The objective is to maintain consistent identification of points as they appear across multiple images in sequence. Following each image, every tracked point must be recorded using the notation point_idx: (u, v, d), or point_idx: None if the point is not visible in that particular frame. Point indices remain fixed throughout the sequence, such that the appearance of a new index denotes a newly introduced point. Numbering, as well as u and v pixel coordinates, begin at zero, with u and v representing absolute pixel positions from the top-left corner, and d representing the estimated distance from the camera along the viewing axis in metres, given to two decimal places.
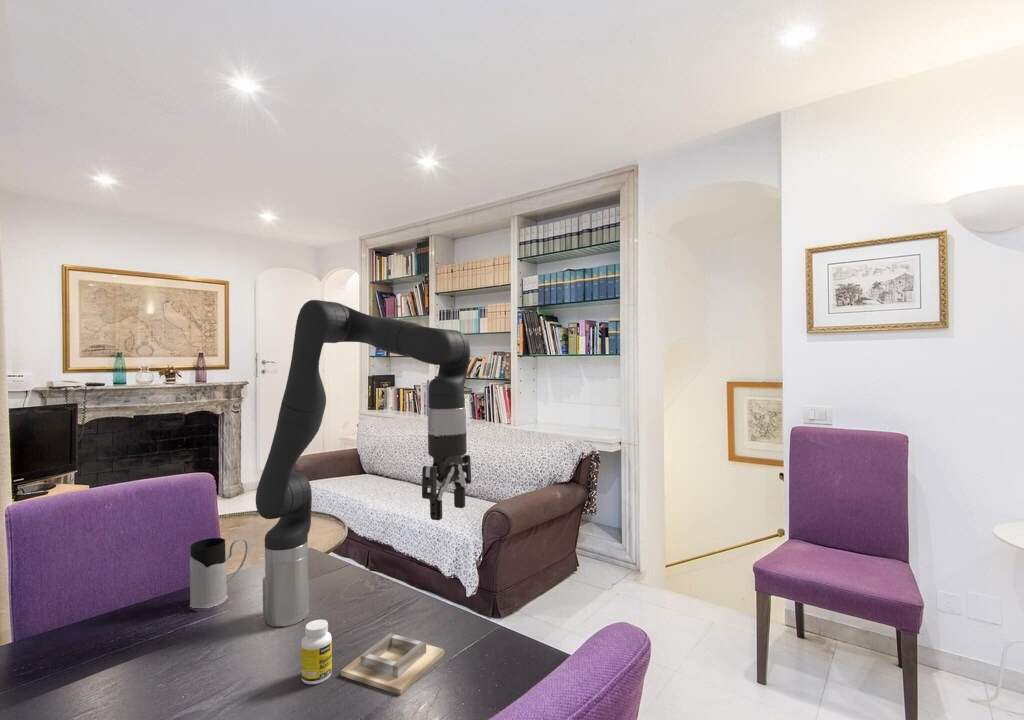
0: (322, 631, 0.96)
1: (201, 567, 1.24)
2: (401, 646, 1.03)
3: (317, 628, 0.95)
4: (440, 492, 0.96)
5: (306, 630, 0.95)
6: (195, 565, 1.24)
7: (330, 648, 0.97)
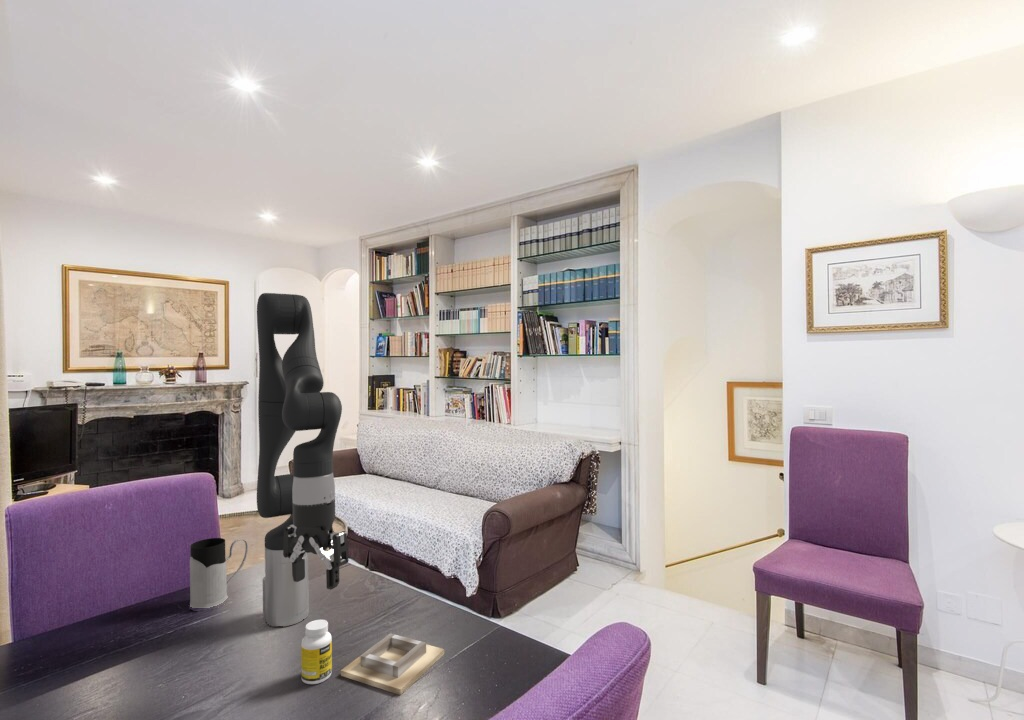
0: (322, 631, 0.96)
1: (201, 567, 1.24)
2: (401, 646, 1.03)
3: (317, 628, 0.95)
4: None
5: (306, 630, 0.95)
6: (195, 565, 1.24)
7: (330, 648, 0.97)
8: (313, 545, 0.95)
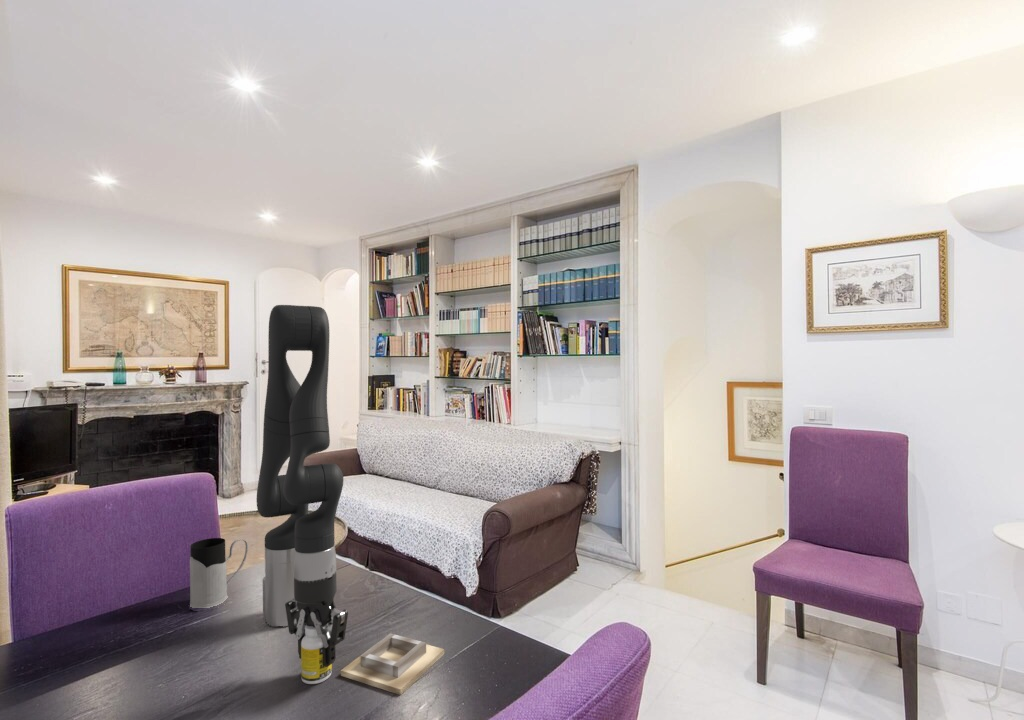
0: None
1: (201, 567, 1.24)
2: (401, 646, 1.03)
3: None
4: None
5: (306, 630, 0.95)
6: (195, 565, 1.24)
7: None
8: (313, 620, 0.95)
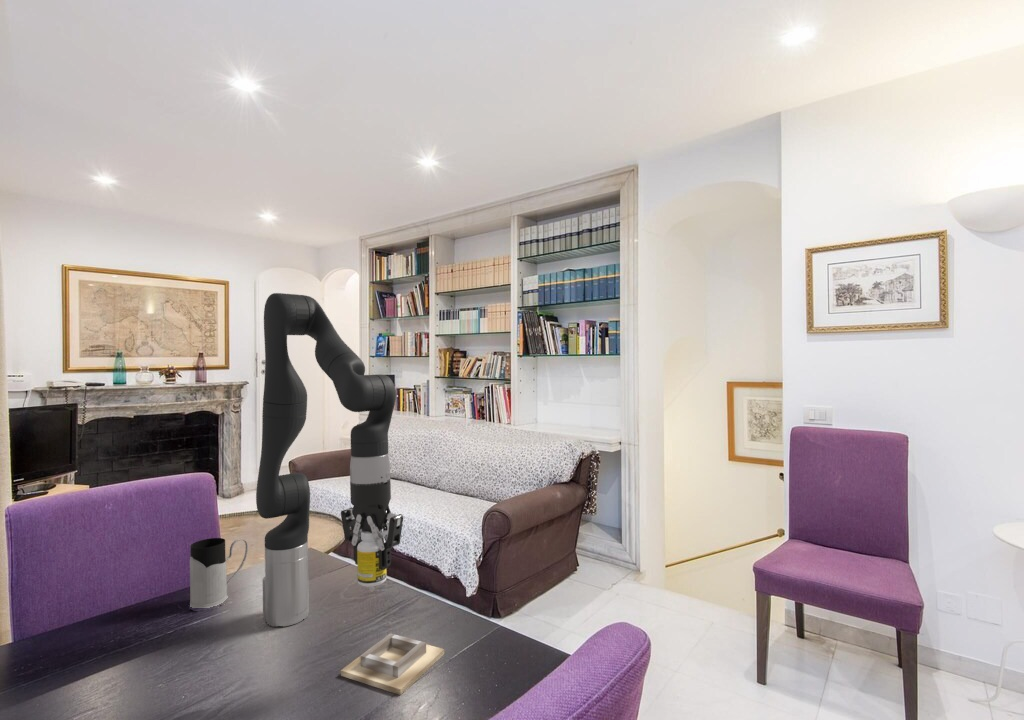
0: None
1: (202, 567, 1.24)
2: (401, 646, 1.03)
3: (372, 533, 0.97)
4: None
5: (362, 534, 0.98)
6: (195, 565, 1.24)
7: None
8: (370, 524, 0.97)
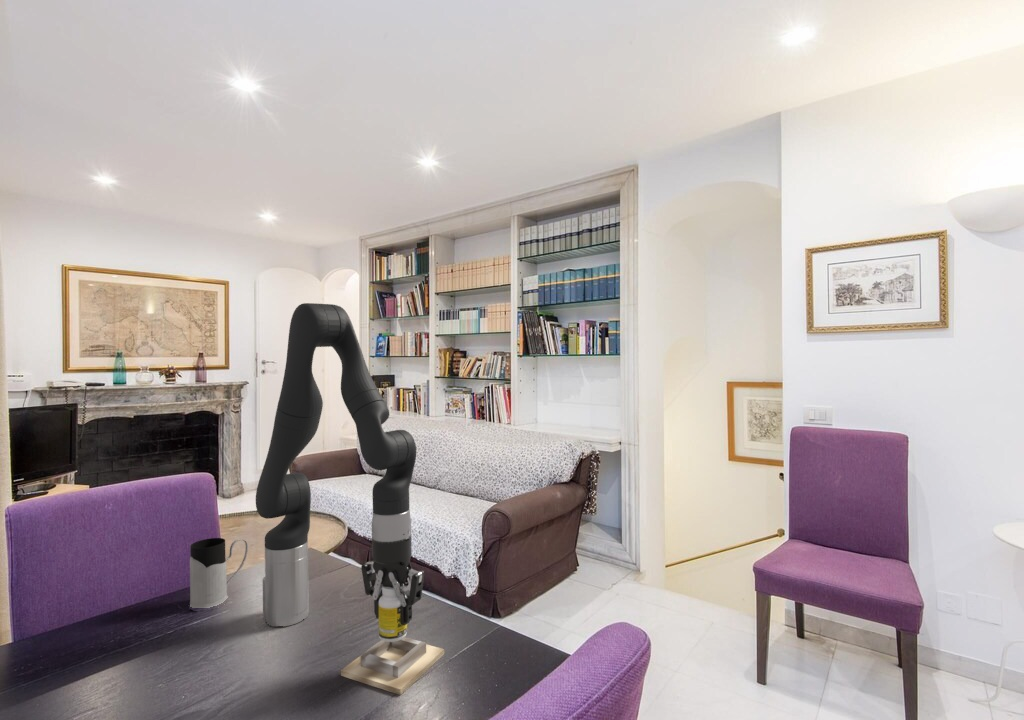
0: None
1: (202, 567, 1.24)
2: (401, 646, 1.03)
3: None
4: None
5: (383, 590, 0.99)
6: (195, 565, 1.24)
7: None
8: (392, 580, 0.98)
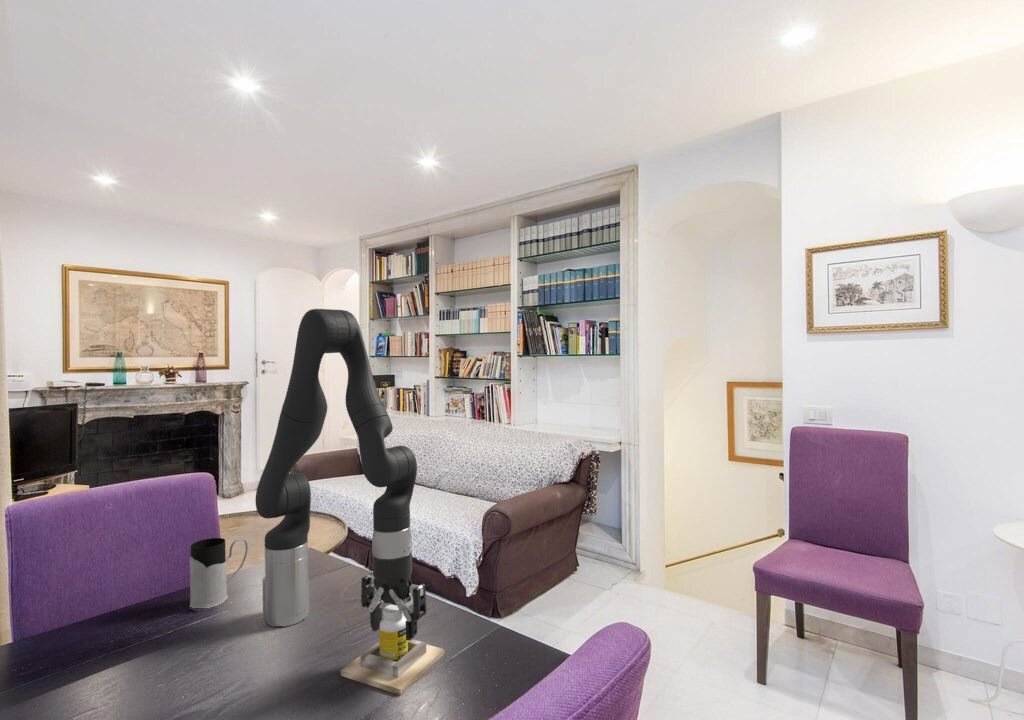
0: (399, 614, 0.99)
1: (202, 567, 1.24)
2: None
3: (395, 612, 0.99)
4: None
5: (384, 613, 0.99)
6: (195, 565, 1.24)
7: None
8: (393, 597, 0.98)
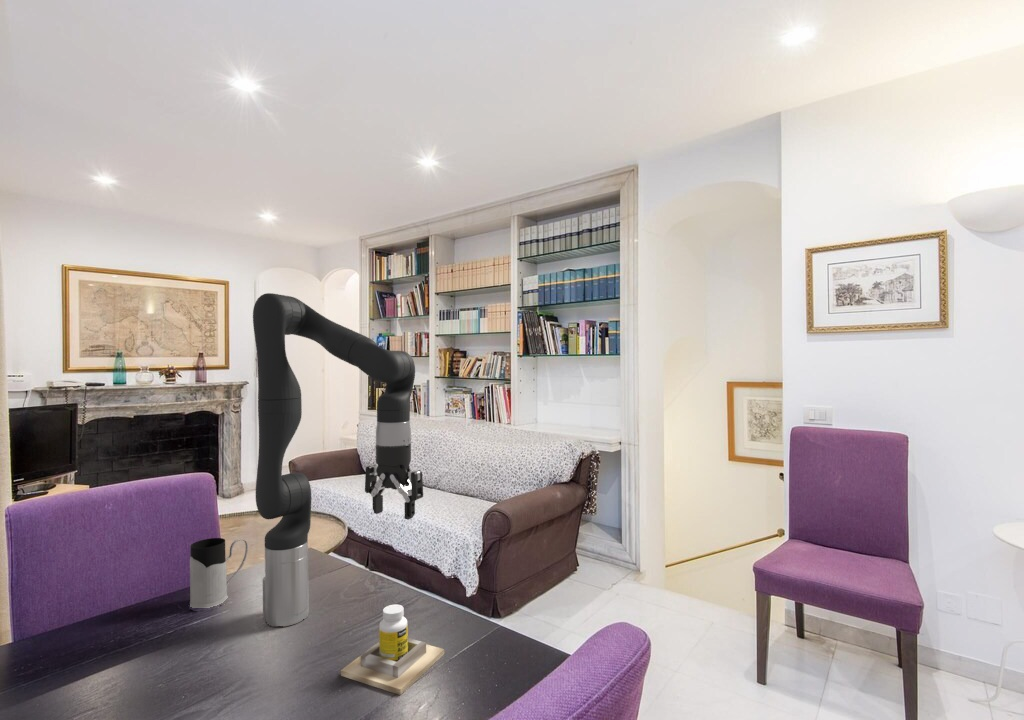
0: (399, 615, 0.99)
1: (201, 567, 1.24)
2: None
3: (394, 612, 0.99)
4: None
5: (384, 614, 0.99)
6: (195, 565, 1.24)
7: (406, 632, 1.00)
8: (393, 481, 1.10)
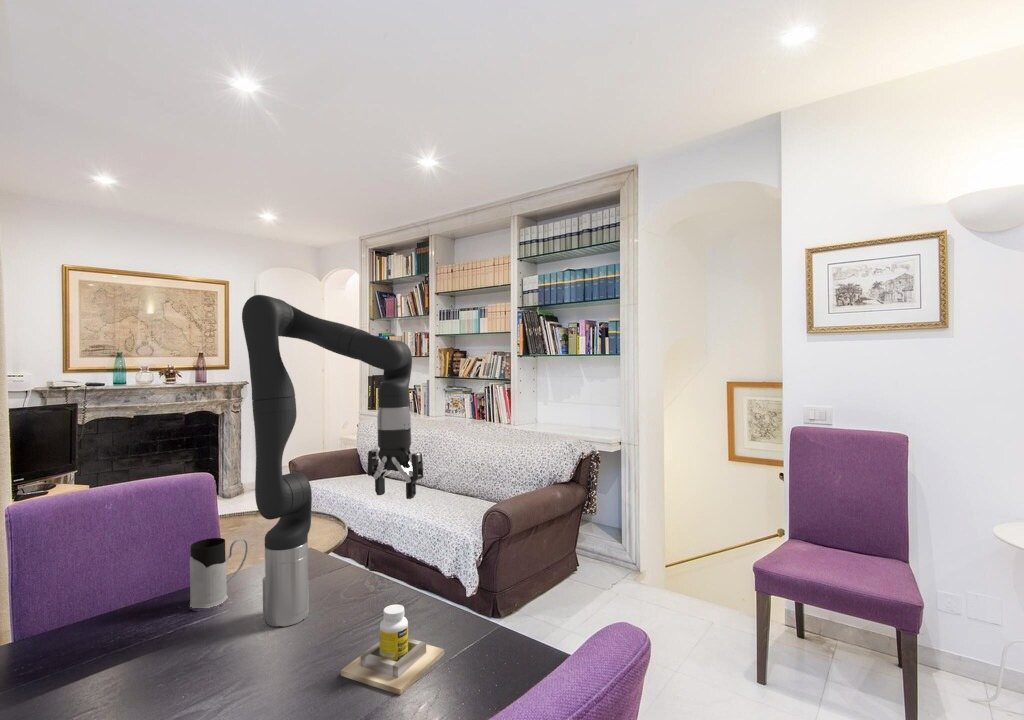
0: (400, 615, 0.99)
1: (202, 567, 1.24)
2: None
3: (395, 612, 0.99)
4: None
5: (385, 614, 0.99)
6: (195, 565, 1.24)
7: (407, 632, 1.00)
8: (395, 463, 1.16)
